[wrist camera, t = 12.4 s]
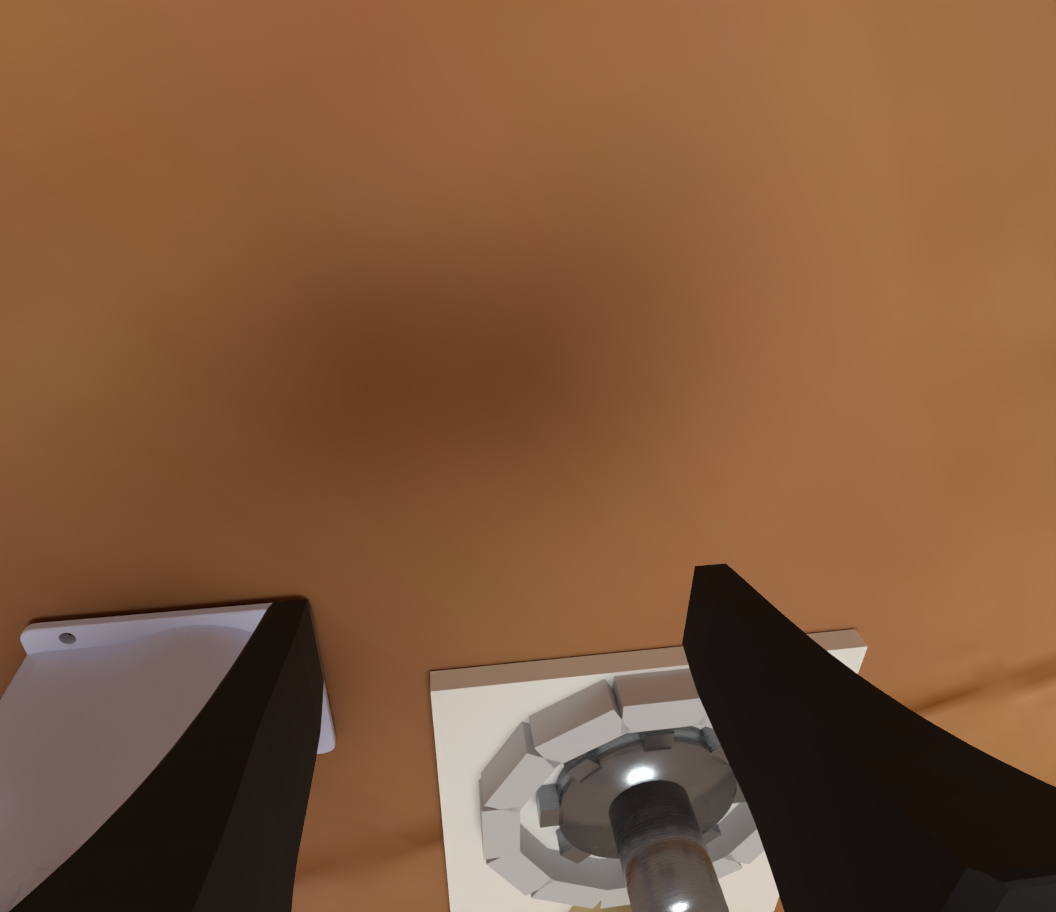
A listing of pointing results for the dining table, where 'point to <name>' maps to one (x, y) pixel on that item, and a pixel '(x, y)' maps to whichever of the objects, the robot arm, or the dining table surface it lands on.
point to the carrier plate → (537, 759)
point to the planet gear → (648, 814)
